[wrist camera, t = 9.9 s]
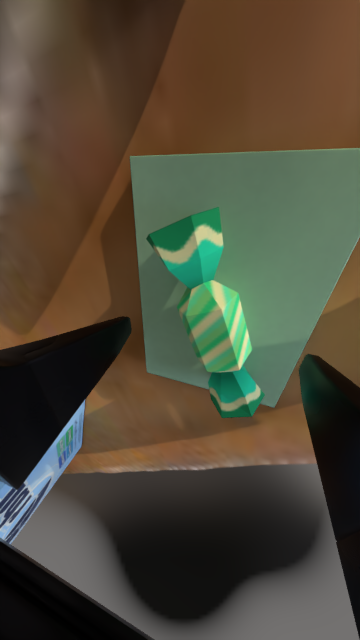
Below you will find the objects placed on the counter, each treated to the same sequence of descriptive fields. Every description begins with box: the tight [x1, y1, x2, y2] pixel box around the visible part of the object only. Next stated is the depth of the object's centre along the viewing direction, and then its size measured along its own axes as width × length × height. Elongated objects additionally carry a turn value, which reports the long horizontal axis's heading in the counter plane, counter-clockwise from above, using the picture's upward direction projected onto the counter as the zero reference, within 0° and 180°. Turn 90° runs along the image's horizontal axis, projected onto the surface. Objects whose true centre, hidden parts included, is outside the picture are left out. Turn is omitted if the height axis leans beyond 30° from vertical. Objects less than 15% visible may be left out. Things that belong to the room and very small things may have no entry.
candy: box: [146, 207, 265, 418], centre depth 11 cm, size 12×3×4 cm
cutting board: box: [130, 148, 360, 407], centre depth 13 cm, size 12×16×1 cm
